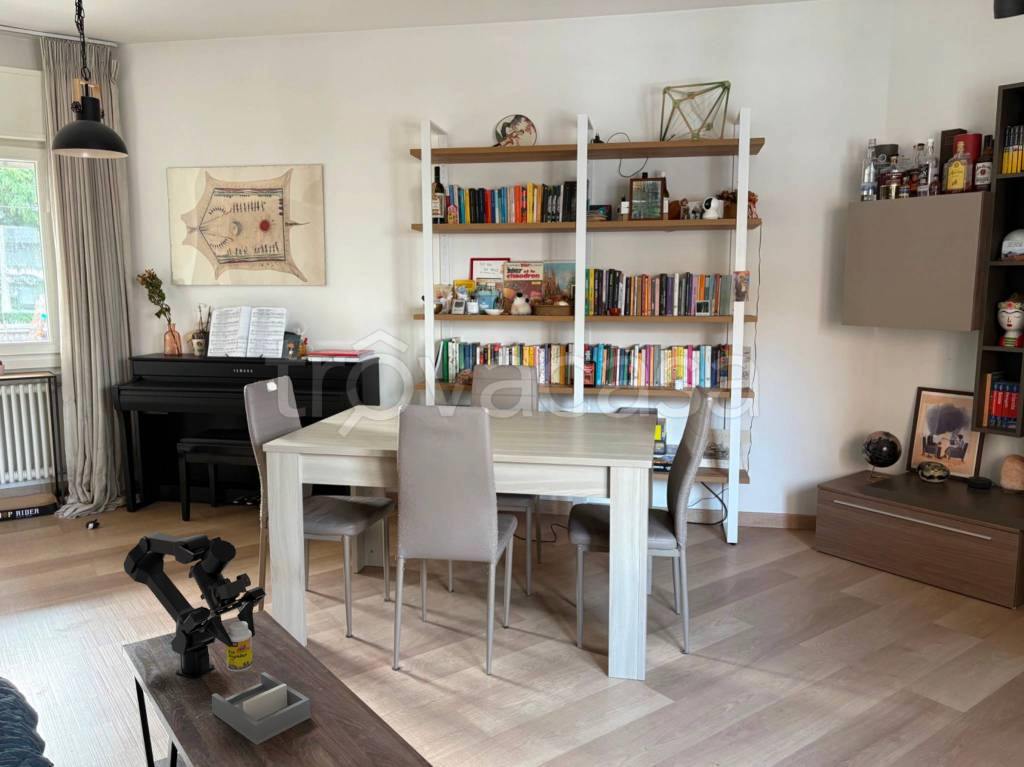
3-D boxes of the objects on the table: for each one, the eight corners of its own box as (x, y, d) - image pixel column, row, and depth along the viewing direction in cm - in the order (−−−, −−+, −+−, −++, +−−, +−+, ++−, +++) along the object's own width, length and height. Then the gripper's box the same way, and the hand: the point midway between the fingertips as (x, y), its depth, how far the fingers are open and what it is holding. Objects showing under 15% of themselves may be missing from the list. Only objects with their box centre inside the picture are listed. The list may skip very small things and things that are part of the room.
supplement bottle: (224, 673, 169) (222, 631, 167) (229, 661, 174) (228, 620, 173) (250, 672, 170) (248, 629, 168) (254, 659, 175) (253, 618, 174)
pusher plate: (243, 724, 159) (242, 702, 159) (284, 704, 167) (283, 683, 166) (246, 725, 159) (245, 703, 158) (287, 705, 166) (286, 684, 166)
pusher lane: (212, 713, 165) (211, 694, 165) (265, 689, 175) (264, 671, 174) (256, 745, 154) (255, 725, 153) (310, 717, 163) (309, 699, 163)
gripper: (188, 578, 163) (220, 640, 159) (260, 553, 179) (291, 609, 174) (169, 603, 169) (200, 663, 164) (241, 577, 184) (270, 632, 179)
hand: (242, 641), depth 170 cm, fingers closed on supplement bottle, 5 cm apart
